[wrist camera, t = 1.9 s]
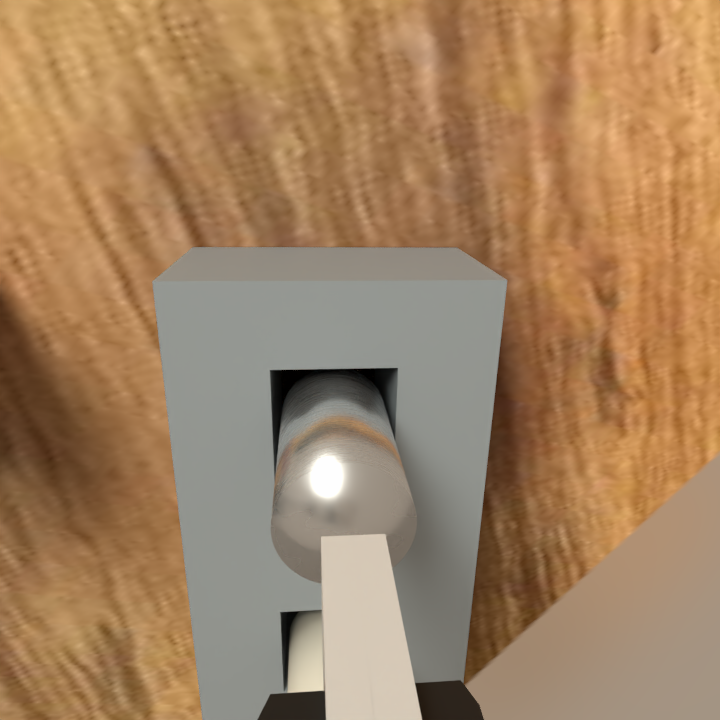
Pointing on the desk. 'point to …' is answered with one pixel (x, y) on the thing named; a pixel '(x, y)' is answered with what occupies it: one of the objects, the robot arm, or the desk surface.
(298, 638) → the cream peg
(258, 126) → the desk surface
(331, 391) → the metal peg
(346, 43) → the desk surface
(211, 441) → the socket block
